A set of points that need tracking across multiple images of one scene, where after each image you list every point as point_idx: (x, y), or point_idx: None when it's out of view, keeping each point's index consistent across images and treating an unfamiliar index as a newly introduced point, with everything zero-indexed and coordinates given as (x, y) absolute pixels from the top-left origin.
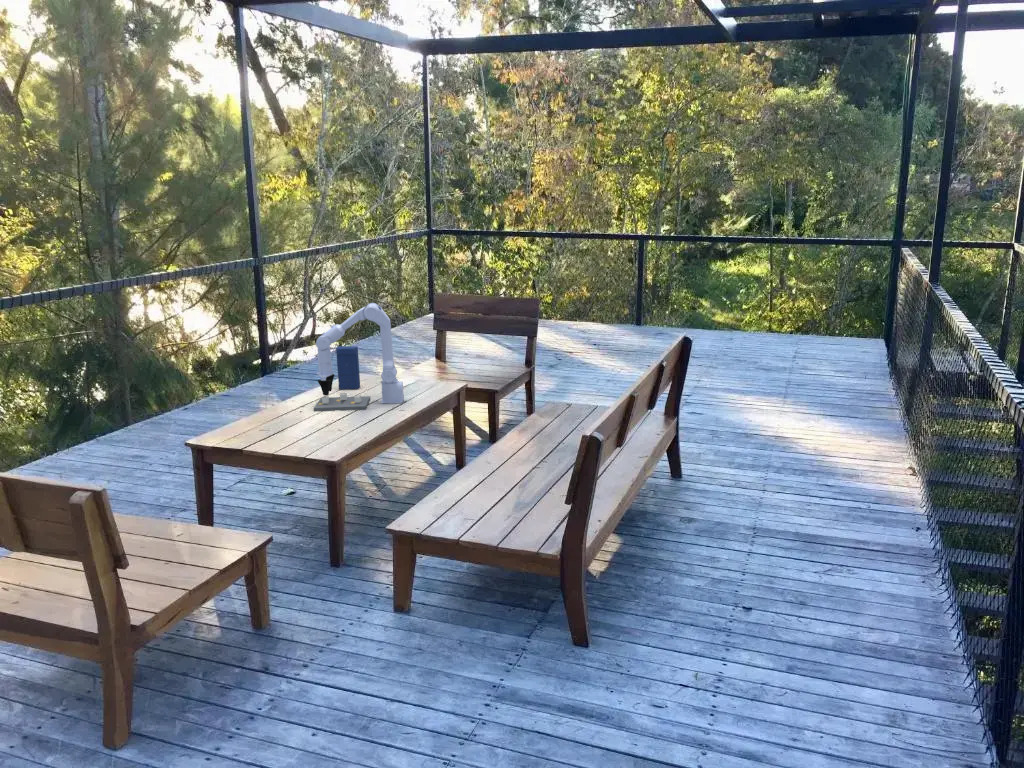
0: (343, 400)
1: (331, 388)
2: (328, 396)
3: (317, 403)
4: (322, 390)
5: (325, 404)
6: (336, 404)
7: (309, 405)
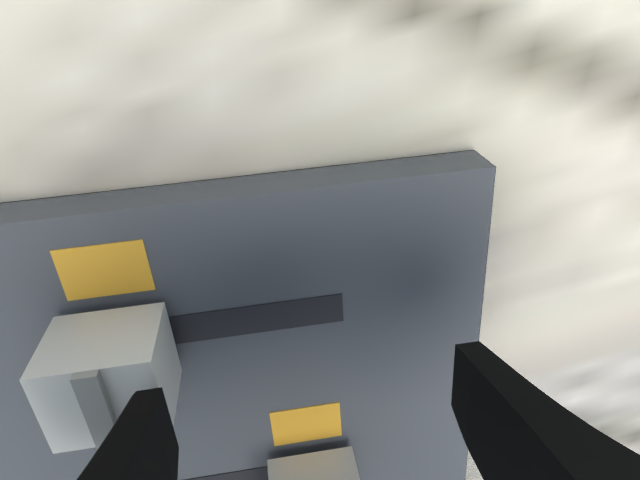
0: None
1: (469, 449)
2: None
3: (115, 219)
4: (86, 473)
5: None
6: None
7: (208, 33)
